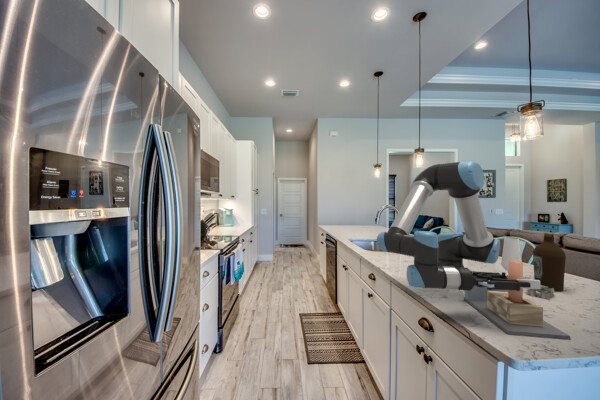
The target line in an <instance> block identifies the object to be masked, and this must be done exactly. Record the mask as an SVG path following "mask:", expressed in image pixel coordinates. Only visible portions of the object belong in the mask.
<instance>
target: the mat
mask: <svg viewBox="0 0 600 400" xmlns="http://www.w3.org/2000/svg"><path fill="white" fill-rule="evenodd" d="M463 301H464V302H465V303H467V304H468V305H470V306H471V307H472V308H474V309H475V310H476V311H478V312H479V314H481V315H483V316H484V317H485V318H486V319H487V320H489V321H490V322H491V323H492V324H494V325H495V326H496V327H497V328H499V329H500V330H502V331H503V332H504V333H505V334H507V335H513V336H524V337H525V336H526V337H536V338H547V339H559V340H571V336H570V335H569V334H568V333H566V332H564V331H562V330H561V329H559V328H557V327H556V326H554V325H552V324H550V323H549V322H547V321H545V320H544V319H543V326H531V325H518V324H510V323H508V322H507V321H505V320H504V319H503V318H501V317H500V316H498V315H497V314H496V313H494V312H493V311H491V310H490V309H489V308H487V301H477V300H467V299H466V298H464V297H463Z"/></svg>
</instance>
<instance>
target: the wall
mask: <svg viewBox="0 0 600 400" xmlns="http://www.w3.org/2000/svg"><path fill="white" fill-rule="evenodd" d="M487 291H498V292H508V290H488V289H487V287H477V286H476V285H475V286H474V287H473V288H472V290H470V291H466V290H463V292H464V293H463V295H464V297H463V299H464V298H466V299H467V300H477V301H487Z"/></svg>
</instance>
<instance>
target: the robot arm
mask: <svg viewBox="0 0 600 400" xmlns="http://www.w3.org/2000/svg"><path fill="white" fill-rule="evenodd" d="M484 175H485V173H484V171H483V167H481V164H480V163H478V162H477V161H474V160H469V161H468V160H467V161H466V160H461V161H455V162H446V163H437V164H434V165H430V166H428V167H427V168H425V169H424V170H422V171H421V172H419V174H418V175H417V176H416V177H415V178H414V179H413V181H412V183H411V184H410V191H409V193H408V194H407V196H406V198H405V200H404V202H403V203H402V205H401V207H400V209H399V210H398V212H397V214H396V216H395V217H394V220H393V221H392V224H391V225H390V227H389V228H388V230H387V231H384V232H383V231H382V232H380V233H378V235H377V237H376V246H377V248H378V249H379V250H380V251H383V252H385V253H388V254H389V253H392V254H396V255H398V254H399V255H404V256H407V257H413V264H410V265H409V264H408V265H407V266H406V267H407V268H406V280H407V283H408V284H409V286H410V287H413V288H420V289H433V290H435V289H436V290H437V289H439V290H445V291H449V290H452V291H454V290H455V291H456V290H458V291H464V290H466V291H470V290H472V288H473V287H474V286H475V285H476V286H477V287H487V289H488V290H516V291H520V288H523V289H526V290H527V289H540V280H534V279H531V276H529V275H523V279H516V280H511V279H508V274H506V273H507V272H503V271H502V272H501V273H500V272H490V271H474V270H471V269H470V268H468V267H465V266H464V260H467V261H471V262H472V261H473V262H477V263H484V264H492V265H493V264H495V263H497V261H498V259H499V256H500V252H501V251H500V250H501V241H500V239H498V238H494V235H493V234H492V233H491V232H490V231H488V228H487V224H486V222H485V217H484V213H483V210H482V205H481V202H480V197H479V193H480V192H481V189H482V188H483V187H484V185H485V177H484ZM437 191H447V193H448V196H449V197H451V198H453V199H454V202H455V204H456V209H457V211H458V214H459V218H460V221H461V224H462V227H463V231H464V233H463V232H458V231H457V232H455V231H454V232H453V231H452V232H441V233H438V234H437V233H436V232H434V231H427V230H426V231H425V230H417V231H414V233H413V234H412V235H410V233H411V231H412V229H413V227H414V226H415V223H416V221H418V218H419V216H420V214H421V212H422V211H423V208H424V206H425V205H426V202H427V200H428V198H429V197H431V196H433V194H434V192H437Z"/></svg>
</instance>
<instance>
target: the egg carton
mask: <svg viewBox="0 0 600 400" xmlns="http://www.w3.org/2000/svg"><path fill="white" fill-rule="evenodd" d="M526 290H527V293H526V294H527V295H529V296H531V297H539V298H541V299H543V300H551V299H550V298H552V297H553V296H554V292H555V291H554V289H553V288H552V289H550V288H548V286H547V287H546V286H543V285H540V289H526Z"/></svg>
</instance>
